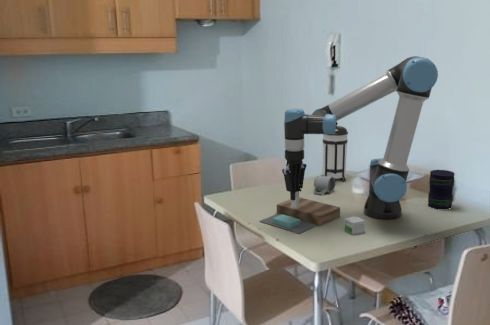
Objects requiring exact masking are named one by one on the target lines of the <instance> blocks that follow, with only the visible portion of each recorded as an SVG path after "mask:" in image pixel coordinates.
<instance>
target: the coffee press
mask: <svg viewBox="0 0 490 325" xmlns="http://www.w3.org/2000/svg"><path fill="white" fill-rule="evenodd" d="M348 135H349V131H348V129H347V128H346V127H344V126H341V125H338V121H336V132H335V133H334V134H327V135H326V134H322V137H323V138H322V176H328V177H334V179H335V180H336V179H338V180H341V181H342V182H343V183H344V182H346V181H347V179H346V175H347V160H348V159H347V155H348V154H347V153H348V150H347V149H348Z"/></svg>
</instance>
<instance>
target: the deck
mask: <svg viewBox="0 0 490 325" xmlns="http://www.w3.org/2000/svg"><path fill="white" fill-rule="evenodd" d="M278 213H279V214H283V215H286V216H290V217H293V218H297V219H300V220H303V221H307V222H311V223H314V224H318V225H317V226H319V227H322V226H323V225H325V224H327V223H330V222H331V221H333V220H335V219H338V218H340V217H341V207H340V206H336V205H333V204H328V203H324V202H320V201H316V200H313V199H308V198H304V197H300V196H299V207H298V208H293V207H291V199H290V198H289V199H288V200H285V201H281V202H280V203H277V204H276V214H278Z"/></svg>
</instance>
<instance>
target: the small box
mask: <svg viewBox="0 0 490 325" xmlns="http://www.w3.org/2000/svg"><path fill="white" fill-rule="evenodd" d="M343 227H344V231H346V232H348V233H349V234H351V235H352V236H353V235H358V234H364V233H365V232H366V220H365V219H363V218H360V217H359V216H357V215H354V216H350V217H345V218H344V226H343Z"/></svg>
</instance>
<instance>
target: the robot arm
mask: <svg viewBox="0 0 490 325" xmlns="http://www.w3.org/2000/svg"><path fill="white" fill-rule="evenodd" d="M438 76H439V70H438V68H437V66H436V64H435V63H434V62H433V61H432V60H430V59H429V58H427V57H422V56H415V55H414V56H410V57H407V58H405V59H404V60H402V61H401V62H399V63H398V64H395V65H394V66H393V67H391V68H389V69H387V70H386V72H385V74H383V75H381V76H379V77H378V78H376V79H374V80H372V81H370V82H369V83H366V84H365V85H363V86H361V87H359V88H357V89H355V90H353V91H351V92H349V93H348V94H345V95H344V96H342V97H340V98H338V99H336V100H334V101H333V102H330V103H328V104H327V105H324V106H323V107H321V108H318V109H316V110H314V111H313V112H312V114H308V113H307V114H306V113H305V110H304V109H302V108H289V109H286V110H285V111H284V121H283V122H284V124H283V127H284V149H285V150H284V159H285V161H286V164H285V166H286V167H285V168H283V169H281V170H282V171H281V172H282V174H283V177H284V178H283V179H284V183H285V188H286V191H287V192H289V193H290V194H289V195H290V198H289V200H290V199H291V207H293V208H298V207H299V197H300V192H302V189H303V187H304V179H305V171H306V168H307V164H306V163H304V162H303V160H304V159H305V135H323V134H326V135H327V134H334V133H335V132H336V122H338V121H340V120H341V119H345V117H347V116H349V115H351V114H353V113H355V112H357V111H360V110H361V109H364V108H366V107H367V106H369V105H370V104H371V105H372V104H373V103H375V102H377V101H378V100H380V99H383V98H385V97H387V96H388V95H390V94H392V93H394V92H396V93H397V94H398V102H397V106H396V109H395V113H394V117H393V120H392V124H391V128H390V132H389V136H388V140H387V142H386V143H387V144H386V148H385V151H384V154H383V158H372V159H371V160H370V164H369V186H368V187H369V188H368V195H367V198H366V200H365V201H366V202H364V203H365V204H364V207H363V214H365V215H366V216H368V217H371V218H374V219H378V220H379V219H381V220H393V219H399V218H401V216H402V211H403V208H402V206H401V202H400V200H401V199H402V198H403V197H405V195H406V193H407V188H408V187H407V181H408V180H407V179H408V175H409V172H410V167H409V166H408V165H407V163H408V159H409V157H410V153H411V149H412V144H413V141H414V138H415V134H416V131H417V130H416V129H417V127H418V126H417V125H418V123H419V120H420V119H419V118H420V115H421V112H422V109H423V105H424V102H425V101H427V100H428V99H429V98H430V96H431V92H432V89H433V87H434V86H435V85H436V83H437V81H438V78H439V77H438Z"/></svg>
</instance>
